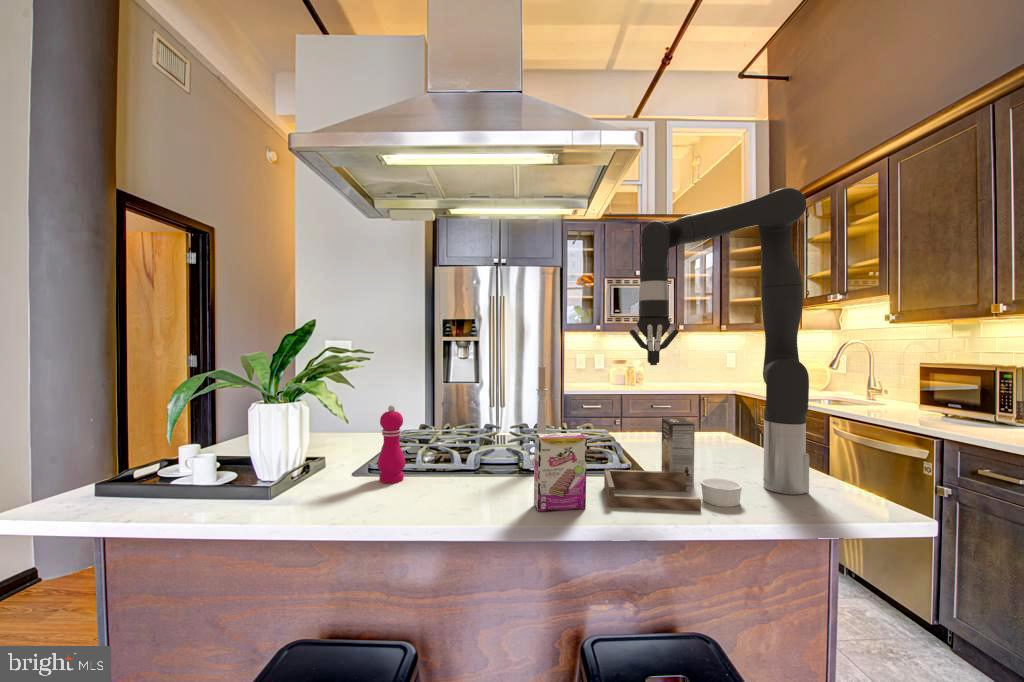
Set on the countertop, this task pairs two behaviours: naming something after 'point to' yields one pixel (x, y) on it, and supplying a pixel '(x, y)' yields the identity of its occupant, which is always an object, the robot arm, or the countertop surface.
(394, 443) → the pepper mill
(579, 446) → the candy bar box
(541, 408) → the candlestick
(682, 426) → the coffee box
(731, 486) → the ramekin
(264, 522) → the countertop surface
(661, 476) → the open wooden box
